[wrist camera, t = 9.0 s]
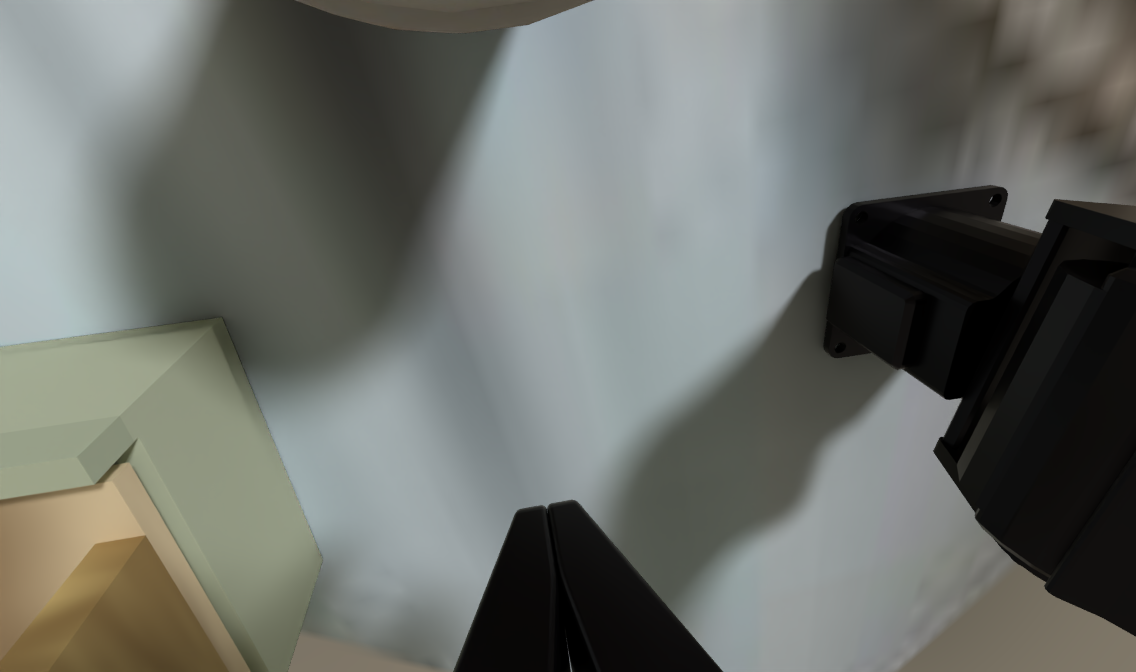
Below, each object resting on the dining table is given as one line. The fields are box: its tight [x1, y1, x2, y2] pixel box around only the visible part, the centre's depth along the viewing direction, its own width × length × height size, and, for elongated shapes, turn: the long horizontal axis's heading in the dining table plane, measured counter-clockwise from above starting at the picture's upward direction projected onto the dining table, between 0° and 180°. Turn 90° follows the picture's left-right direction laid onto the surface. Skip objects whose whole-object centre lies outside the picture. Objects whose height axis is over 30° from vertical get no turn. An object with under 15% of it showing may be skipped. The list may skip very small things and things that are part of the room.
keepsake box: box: [0, 317, 323, 672], centre depth 17 cm, size 10×12×8 cm
